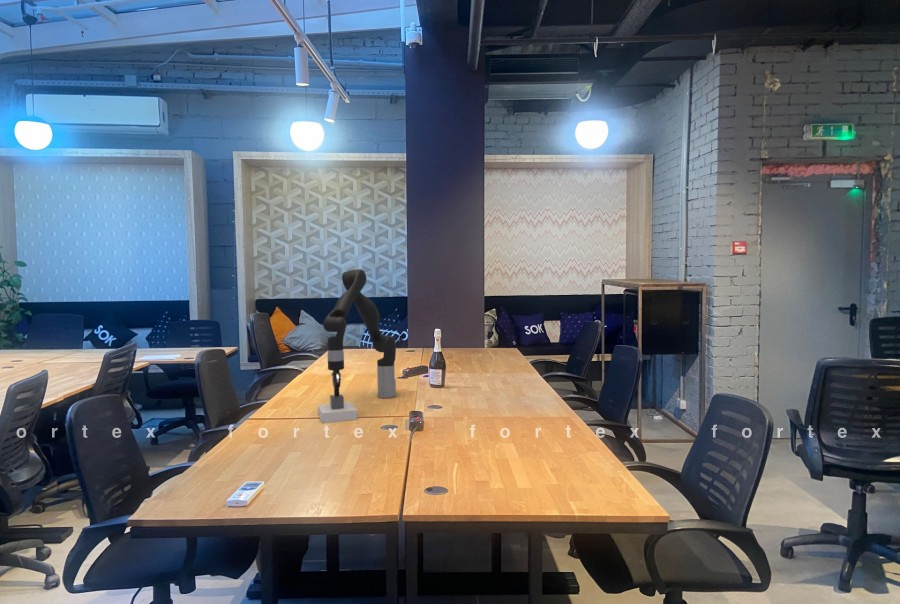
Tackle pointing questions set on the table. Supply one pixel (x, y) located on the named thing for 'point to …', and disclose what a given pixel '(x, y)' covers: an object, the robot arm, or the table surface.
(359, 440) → the table surface
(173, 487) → the table surface
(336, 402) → the plug
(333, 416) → the socket block
